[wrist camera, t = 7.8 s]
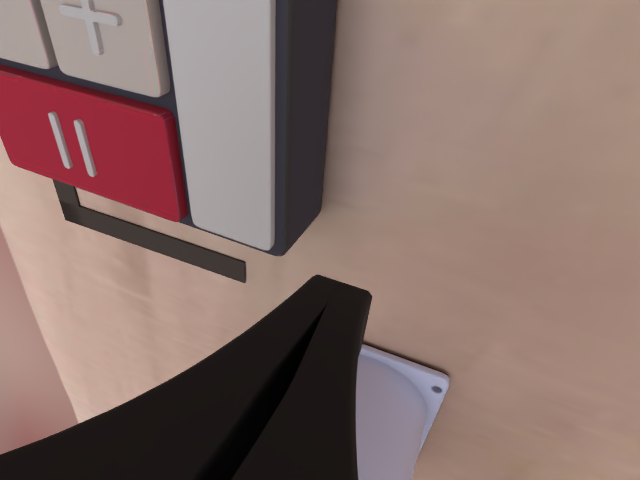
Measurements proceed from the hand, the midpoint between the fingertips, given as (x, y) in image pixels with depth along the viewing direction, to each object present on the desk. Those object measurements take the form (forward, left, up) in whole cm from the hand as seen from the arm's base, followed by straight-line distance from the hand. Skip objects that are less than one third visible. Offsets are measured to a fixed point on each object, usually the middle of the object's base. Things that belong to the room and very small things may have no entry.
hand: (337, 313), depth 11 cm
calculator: (+1, +11, -9) cm, 15 cm away
